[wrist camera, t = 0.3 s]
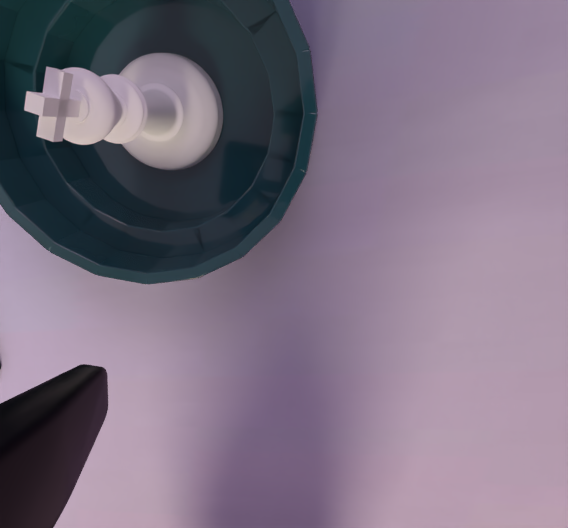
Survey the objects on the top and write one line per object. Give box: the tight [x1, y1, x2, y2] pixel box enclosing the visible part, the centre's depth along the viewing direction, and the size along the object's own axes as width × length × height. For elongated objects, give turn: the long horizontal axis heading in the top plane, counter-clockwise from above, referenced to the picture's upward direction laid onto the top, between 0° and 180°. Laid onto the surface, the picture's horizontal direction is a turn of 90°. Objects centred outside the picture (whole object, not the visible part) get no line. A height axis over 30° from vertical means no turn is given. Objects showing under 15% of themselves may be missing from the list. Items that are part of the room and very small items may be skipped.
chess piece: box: [24, 53, 223, 170], centre depth 15 cm, size 5×5×10 cm
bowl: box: [0, 0, 317, 284], centre depth 18 cm, size 13×13×4 cm
